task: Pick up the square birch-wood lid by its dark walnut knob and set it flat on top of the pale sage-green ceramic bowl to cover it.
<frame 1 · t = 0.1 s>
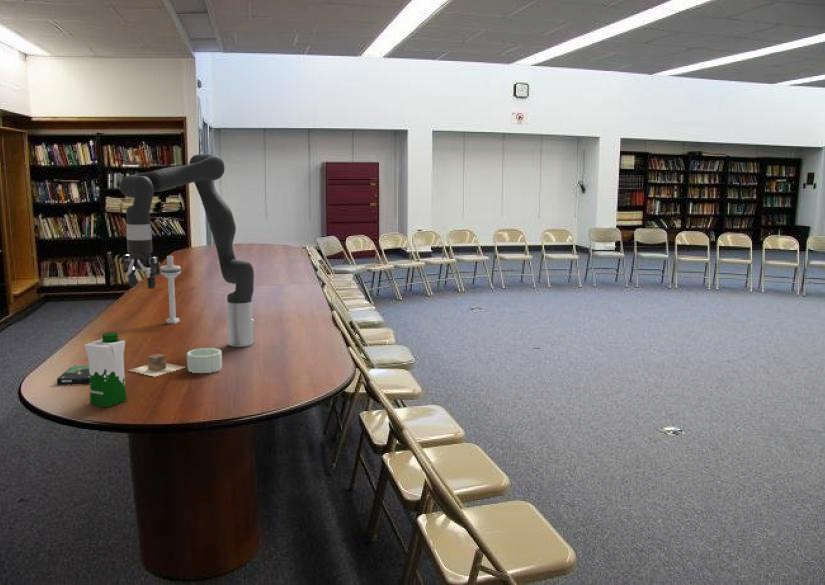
hand: (142, 287, 219), 29 cm above the table, tool pointing down, fingers open, 8 cm apart
model tower: (173, 322, 299), on the table
birch lid: (157, 371, 227), on the table
green bowl: (204, 369, 228), on the table
disk drive: (82, 379, 217), on the table
milk carton: (108, 403, 194), on the table
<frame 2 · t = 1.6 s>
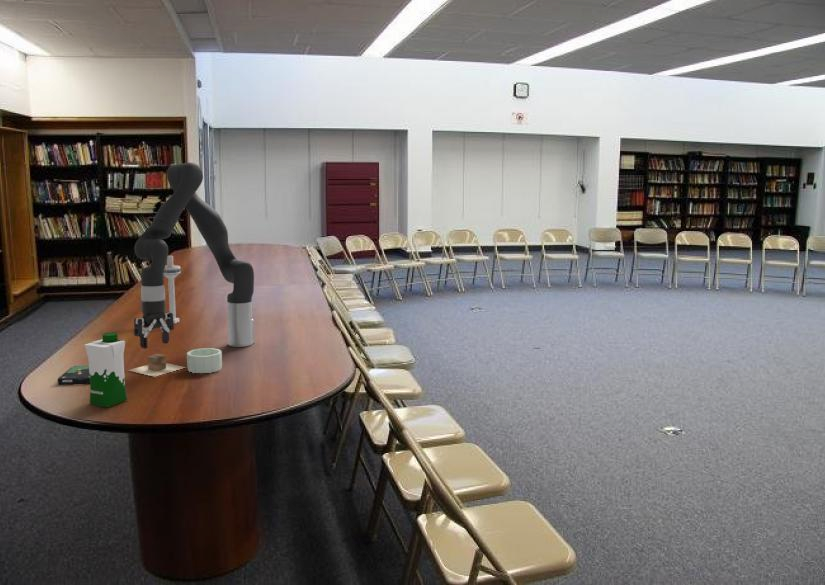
hand: (155, 345, 225), 8 cm above the table, tool pointing down, fingers open, 8 cm apart
nothing on the table moved.
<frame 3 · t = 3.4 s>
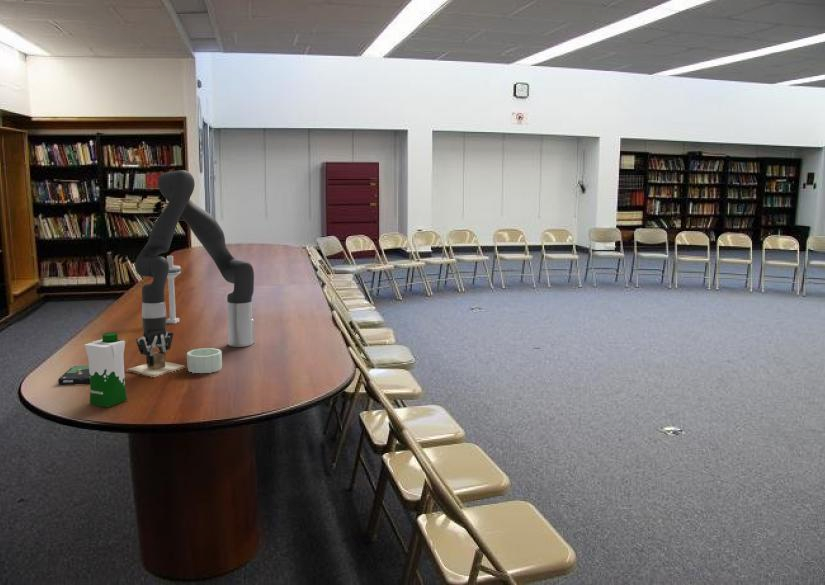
hand: (156, 364, 226), 2 cm above the table, tool pointing down, fingers closed on birch lid, 4 cm apart
birch lid: (156, 370, 226), on the table, touching gripper
everything else where it was.
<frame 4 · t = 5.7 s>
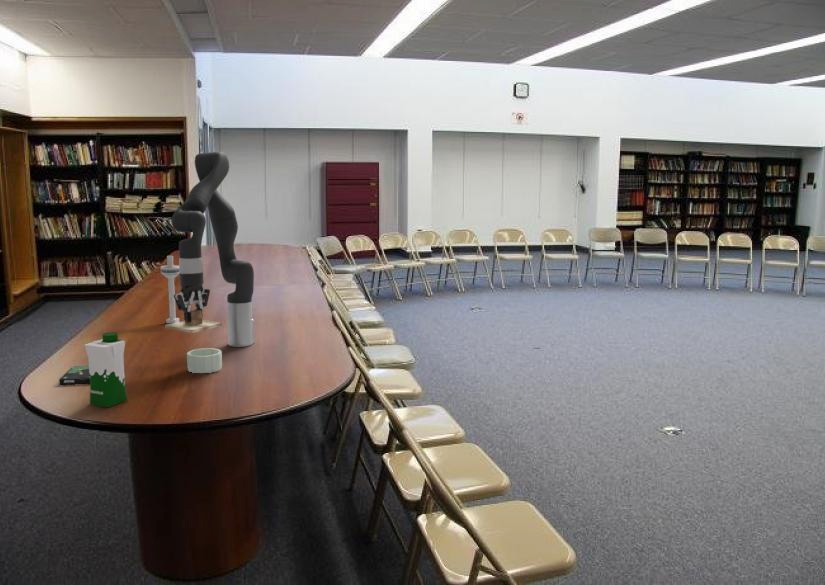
hand: (193, 320, 225), 17 cm above the table, tool pointing down, fingers closed on birch lid, 4 cm apart
birch lid: (193, 326, 226), point 15 cm above the table, touching gripper
everything else where it was.
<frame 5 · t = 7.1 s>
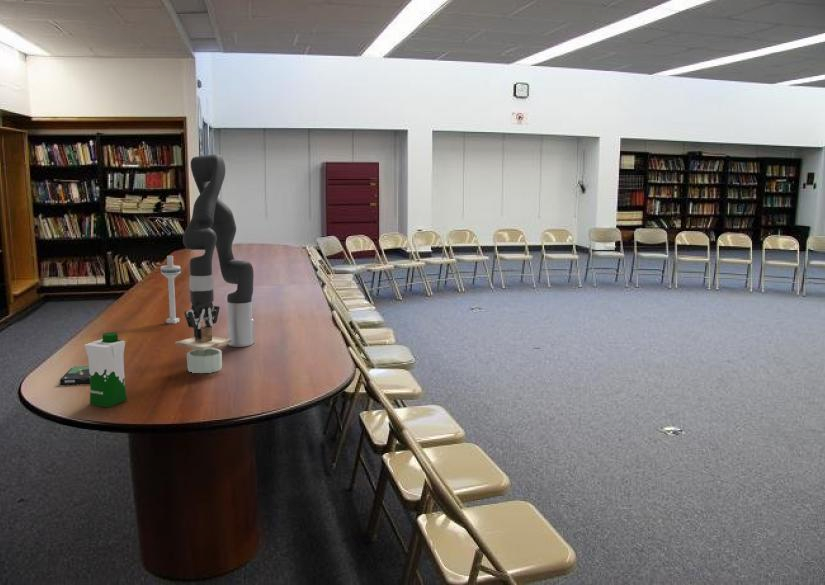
hand: (203, 337, 226), 11 cm above the table, tool pointing down, fingers closed on birch lid, 4 cm apart
birch lid: (203, 343, 227), point 9 cm above the table, touching gripper
everything else where it was.
when the fingers open (9 cm above the table, at t = 8.2 s): birch lid drops 1 cm, resting on green bowl.
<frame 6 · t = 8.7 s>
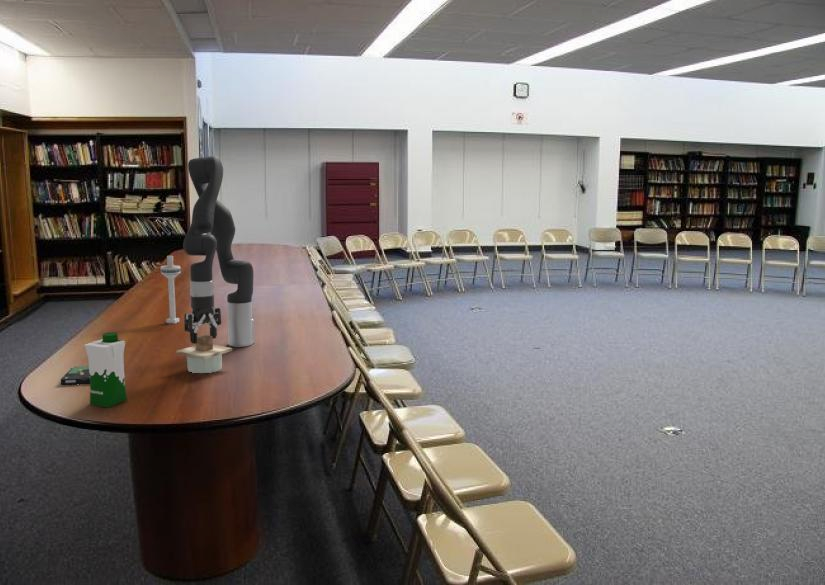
hand: (203, 340, 226), 10 cm above the table, tool pointing down, fingers open, 8 cm apart
birch lid: (204, 352, 227), point 6 cm above the table, touching green bowl
everything else where it was.
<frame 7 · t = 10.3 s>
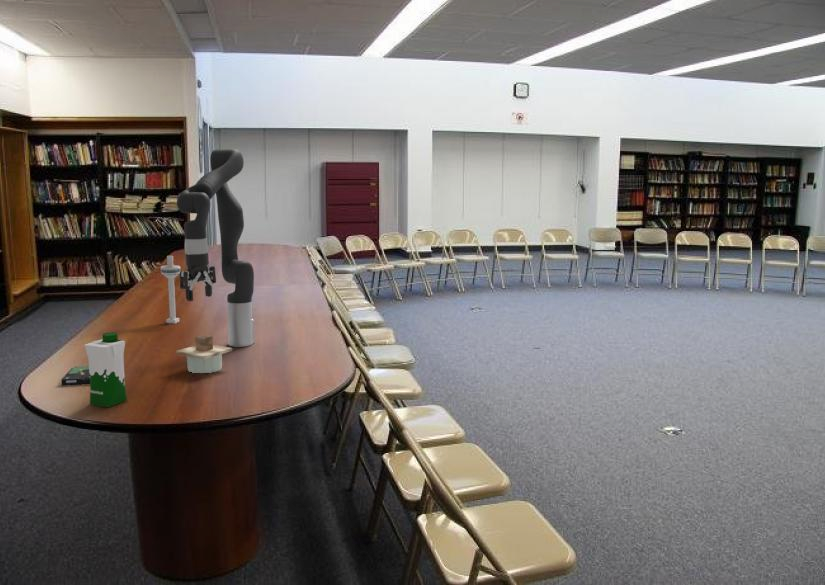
hand: (199, 298, 229), 24 cm above the table, tool pointing down, fingers open, 8 cm apart
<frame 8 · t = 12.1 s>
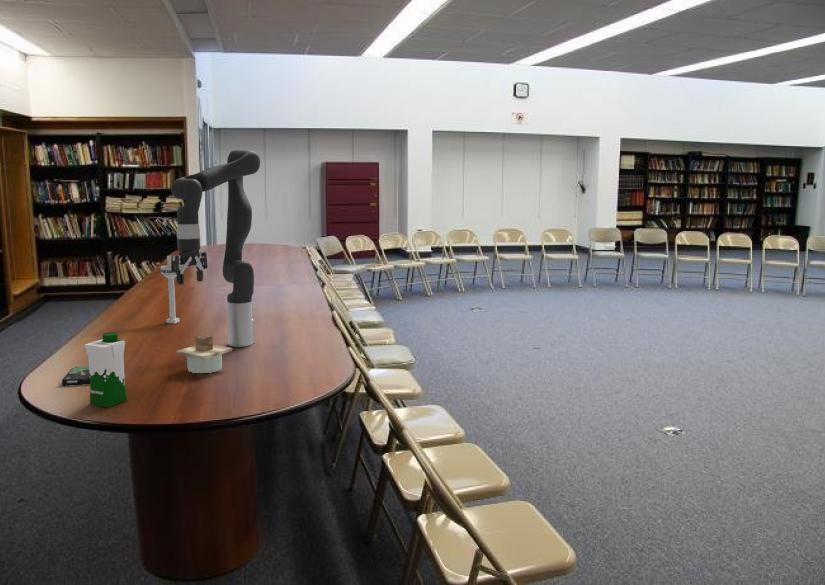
hand: (190, 282, 234), 28 cm above the table, tool pointing down, fingers open, 8 cm apart
at the end: birch lid 0.1 cm off-centre on the green bowl, point 6.0 cm above the green bowl's base; birch lid tilted 0°; the gripper is holding nothing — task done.
